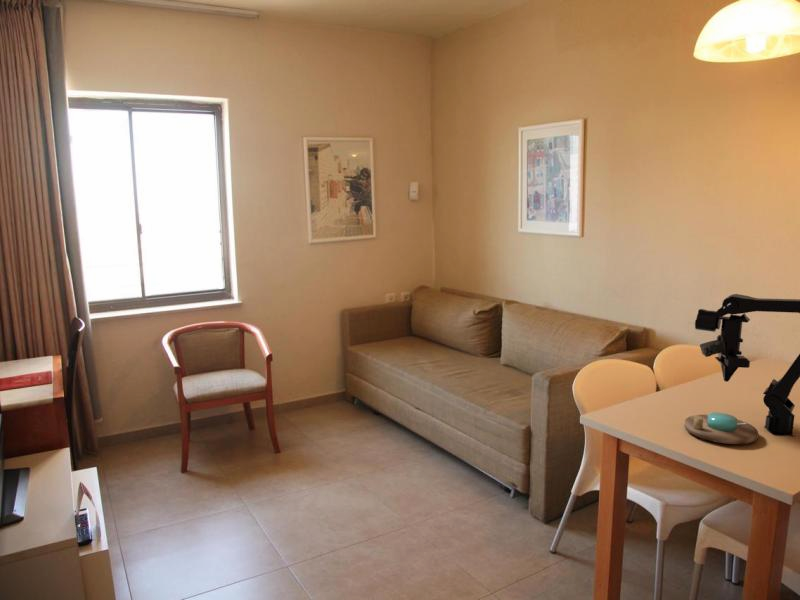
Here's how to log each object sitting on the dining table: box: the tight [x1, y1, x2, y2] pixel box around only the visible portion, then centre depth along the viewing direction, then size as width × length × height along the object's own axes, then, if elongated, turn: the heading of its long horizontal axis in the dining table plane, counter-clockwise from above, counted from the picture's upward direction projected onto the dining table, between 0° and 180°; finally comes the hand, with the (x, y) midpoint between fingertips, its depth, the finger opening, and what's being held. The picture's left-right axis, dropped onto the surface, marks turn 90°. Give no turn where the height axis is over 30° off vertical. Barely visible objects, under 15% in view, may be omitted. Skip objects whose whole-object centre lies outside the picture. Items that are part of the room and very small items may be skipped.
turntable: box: [684, 414, 759, 445], centre depth 192 cm, size 20×20×4 cm
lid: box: [707, 412, 738, 432], centre depth 192 cm, size 8×8×3 cm
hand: (726, 381), depth 203 cm, fingers closed
